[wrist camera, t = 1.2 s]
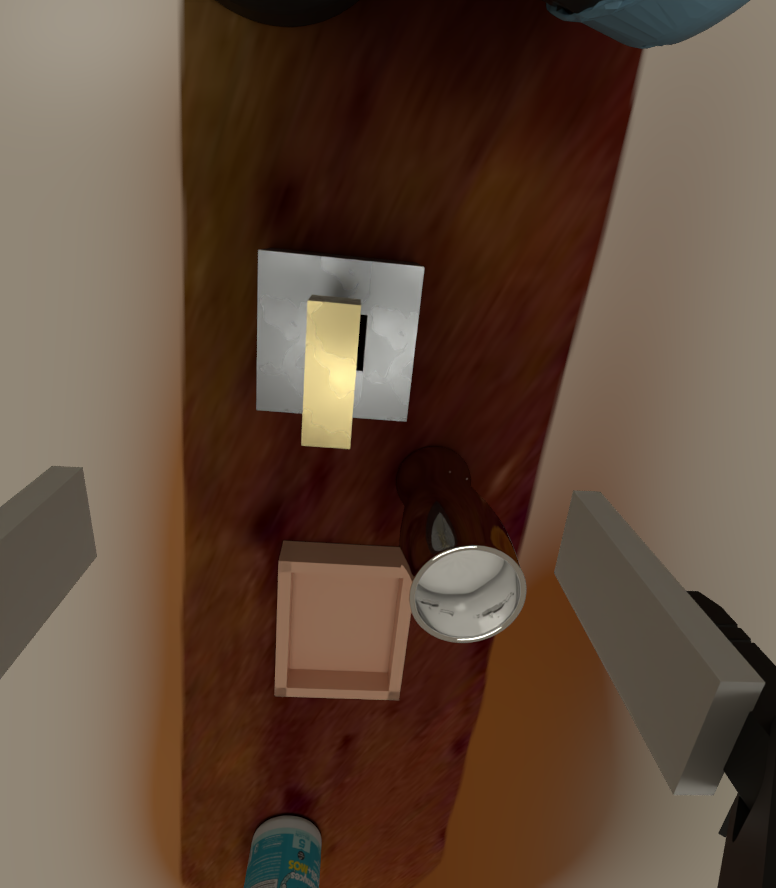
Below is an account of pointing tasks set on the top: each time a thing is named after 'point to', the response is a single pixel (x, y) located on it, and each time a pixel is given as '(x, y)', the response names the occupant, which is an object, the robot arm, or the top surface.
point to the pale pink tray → (340, 621)
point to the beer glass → (454, 551)
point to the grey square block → (382, 301)
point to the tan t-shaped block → (330, 370)
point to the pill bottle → (285, 854)
